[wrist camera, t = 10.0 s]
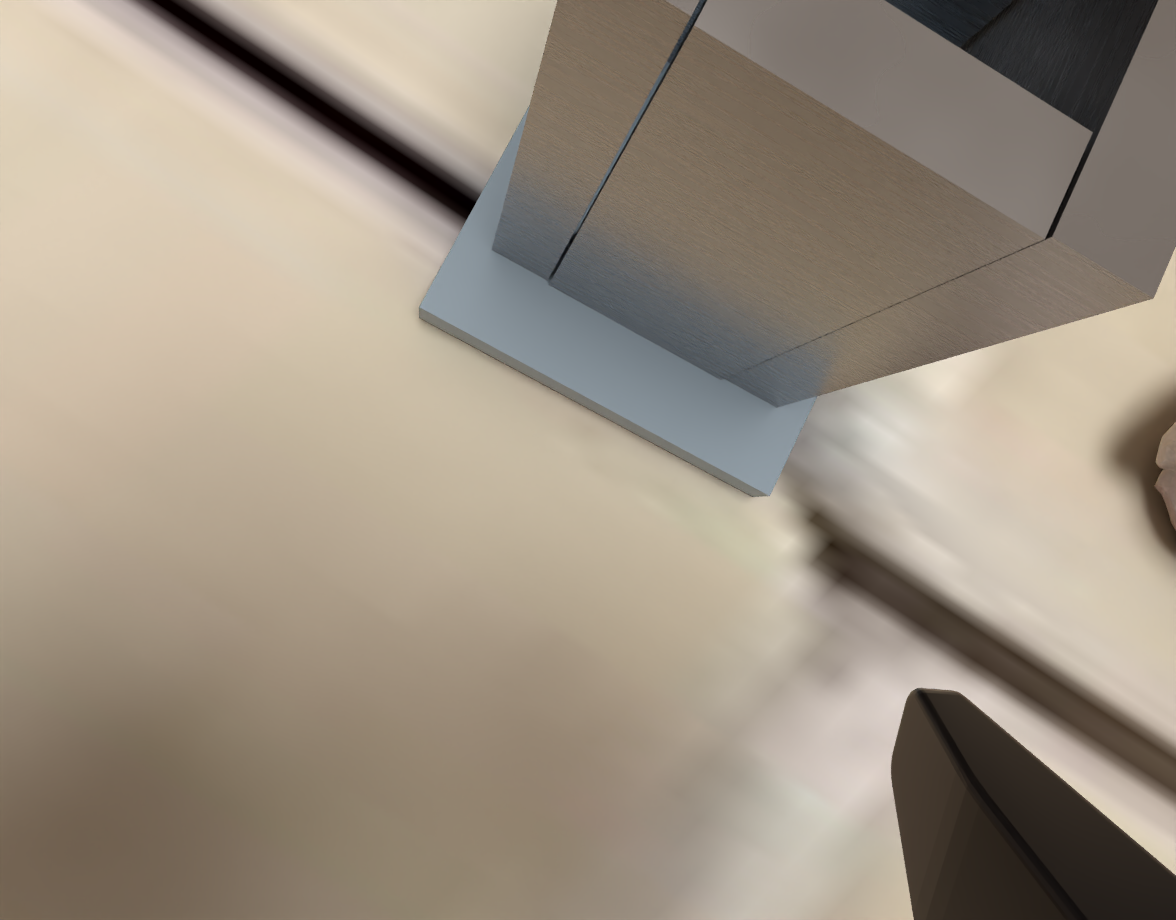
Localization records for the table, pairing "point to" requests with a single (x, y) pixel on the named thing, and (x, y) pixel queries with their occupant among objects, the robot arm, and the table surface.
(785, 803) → the table surface
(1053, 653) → the table surface
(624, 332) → the shaft stand
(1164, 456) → the fossil
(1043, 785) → the robot arm
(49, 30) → the table surface
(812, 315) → the open metal box
